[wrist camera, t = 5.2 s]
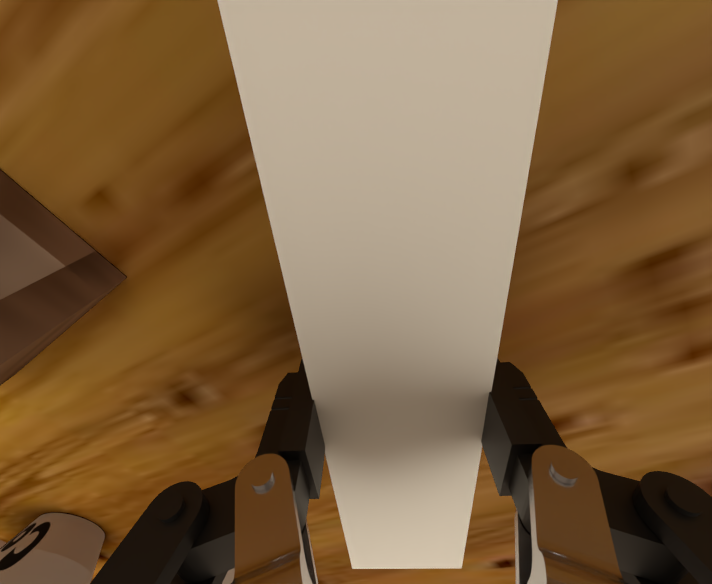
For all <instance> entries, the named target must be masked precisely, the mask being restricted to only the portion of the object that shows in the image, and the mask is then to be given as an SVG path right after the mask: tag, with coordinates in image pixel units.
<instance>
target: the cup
mask: <svg viewBox="0 0 712 584" xmlns="http://www.w3.org/2000/svg"><path fill="white" fill-rule="evenodd" d="M104 539H105V534H104V532H103V530H102V529H101V528H100V527H99V526H97V525H96V524H94V523H92V522H90V521H88V520H86V519H84V518H81V517H78V516H74V515H70V514H64V513H47V514H43V515H41V516H39V517H38V518H37V519H36V520H34V521H33V522H32V523H31V524H30V525H28V526H27V527H26V528H25V529H23V530H22V531H21V532H20V533H19V534H17V535H16V536H15V537H14V538H13V539H11V540H10V541H9V542H8V543H6V544H5V545H4V546H3V547H2V548H0V584H90V582H91V580H92V576H93V573H94V570H95V567H96V564H97V561H98V557H99V554H100V551H101V548H102V545H103V542H104Z"/></svg>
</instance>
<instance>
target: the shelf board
mask: <svg viewBox="0 0 712 584" xmlns="http://www.w3.org/2000/svg"><path fill="white" fill-rule="evenodd" d="M217 1H218V5H219V9H220V13H221V17H222V22H223V26H224V30H225V34H226V38H227V43H228V47H229V51H230V55H231V60H232V64H233V68H234V72H235V76H236V81H237V85H238V89H239V93H240V97H241V102H242V106H243V110H244V114H245V118H246V123H247V127H248V131H249V135H250V139H251V144H252V148H253V152H254V156H255V161H256V165H257V169H258V173H259V177H260V182H261V186H262V190H263V194H264V198H265V203H266V207H267V211H268V215H269V219H270V224H271V228H272V232H273V236H274V240H275V245H276V249H277V253H278V257H279V262H280V266H281V270H282V274H283V278H284V283H285V287H286V291H287V295H288V299H289V304H290V308H291V312H292V316H293V320H294V325H295V329H296V333H297V337H298V341H299V346H300V350H301V354H302V358H303V363H304V367H305V371H306V375H307V379H308V384H309V388H310V392H311V396H312V400H314V401H315V405H316V410H317V414H318V418H319V422H320V426H321V431H322V435H323V439H324V443H325V455H326V459H327V464H328V468H329V472H330V476H331V480H332V485H333V489H334V493H335V497H336V501H337V506H338V510H339V514H340V518H341V522H342V527H343V531H344V535H345V539H346V543H347V548H348V552H349V556H350V560H351V565H352V569H408V568H462V562H463V556H464V550H465V545H466V539H467V533H468V527H469V521H470V515H471V509H472V503H473V497H474V492H475V486H476V480H477V474H478V468H479V462H480V456H481V450H482V443H481V440H482V434H483V427H484V421H485V415H486V409H487V403H488V397H489V392H491V391H492V385H493V380H494V374H495V368H496V362H497V356H498V350H499V344H500V338H501V332H502V326H503V321H504V315H505V309H506V303H507V297H508V291H509V285H510V279H511V273H512V267H513V262H514V256H515V250H516V244H517V238H518V232H519V226H520V220H521V214H522V209H523V203H524V197H525V191H526V185H527V179H528V173H529V167H530V161H531V155H532V150H533V144H534V138H535V132H536V126H537V120H538V114H539V108H540V102H541V97H542V91H543V85H544V79H545V73H546V67H547V61H548V55H549V49H550V43H551V38H552V32H553V26H554V20H555V14H556V8H557V2H558V0H217Z"/></svg>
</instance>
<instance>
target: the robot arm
mask: <svg viewBox="0 0 712 584" xmlns="http://www.w3.org/2000/svg"><path fill="white" fill-rule="evenodd" d="M481 443H482V446H483V449H484V451H485V454H486V457H487V460H488V463H489V466H490V469H491V472H492V475H493V478H494V481H495V484H496V487H497V490H498V493H499V496H512V498H513V500H514V503H515V506H516V508H517V509H516V513H515V558H516V584H712V497H711V496H710V495H709V494H707V493H706V492H705V491H704V490H702V489H701V488H700V487H698V486H697V485H695V484H694V483H692V482H690V481H688V480H686V479H684V478H682V477H680V476H677V475H675V474H672V473H668V472H662V471H654V472H649V473H647V474H645V475H644V476H643V477H642V479H641V481H637V480H633V479H629V478H625V477H621V476H617V475H614V474H610V473H606V472H603V471H600V470H597V469H595V468H593V467H591V465H590V464H589V463H588V462H587V461H586V460H585V459H584V458H582V457H581V456H580V455H578V454H577V453H575V452H574V451H572V450H570V449H568V448H567V447H566V445H565V444H564V443H563V441H562V439H561V437H560V436H559V434H558V432H557V431H556V429H555V427H554V425H553V424H552V422H551V420H550V419H549V417H548V415H547V413H546V412H545V410H544V408H543V407H542V405H541V403H540V401H539V400H537V396H536V395H535V393H534V391H533V389H531V386H530V384H529V383H528V381H527V379H526V377H525V376H524V374H523V373H522V372H521V371H520V370H519V369H517V368H516V367H515V366H514V365H513V364H511V363H510V362H503V363H500V361H499V359H498V358H497V362H496V368H495V374H494V380H493V385H492V391H491V392H489V397H488V403H487V409H486V415H485V421H484V427H483V434H482V440H481ZM324 454H325V443H324V439H323V435H322V431H321V426H320V422H319V418H318V414H317V410H316V405H315V401H314V400H312V396H311V392H310V388H309V384H308V379H307V375H306V371H305V367H304V363H303V358H302V360H301V364H300V368H299V371H298V372H297V373H288V374H287V375H286V376H285V378H284V379H283V380H282V381H281V382H280V384H279V386H278V389H277V392H276V395H275V400H274V402H273V405H272V410H271V411H270V414H269V417H268V420H267V424H266V427H265V430H264V433H263V436H262V439H261V443H260V446H259V449H258V452H257V454H256V457H255V458H254V459H252V460H251V461H250V462H248V463H247V464H246V465H245V466H244V468H243V469H242V470H241V472H240V473H239V475H238V476H237V477H235V478H233V479H231V480H229V481H226V482H224V483H221V484H218V485H215V486H212V487H210V488H207V489H204V490H201V488H200V487H199V486H198V485H197V484H196V483H193V482H189V481H186V482H180V483H177V484H174V485H172V486H170V487H168V488H167V489H165V490H164V491H162V492H161V493H160V494H159V495H158V496H157V497H156V498H155V499H154V500H153V501H152V502H151V504H150V505H149V506H148V508H147V509H146V510H145V512H144V513H143V514H142V516H141V517H140V518H139V520H138V521H137V522H136V524H135V525H134V526H133V528H132V529H131V530H130V531H129V533H128V534H127V535H126V537H125V538H124V539H123V541H122V542H121V543H120V545H119V546H118V547H117V549H116V550H115V551H114V553H113V554H112V555H111V557H110V558H109V559H108V561H107V562H106V563H105V565H104V566H103V567H102V569H101V570H100V571H99V573H98V574H97V575H96V577H95V578H94V579H93V581H92V582H91V583H90V584H222V582H223V580H224V578H225V576H226V574H227V572H228V570H231V569H233V568H235V573H234V579H233V582H232V583H231V584H318V580H317V574H316V569H315V563H314V558H313V552H312V546H311V541H310V535H309V530H308V524H307V519H306V516H307V510H308V503H309V499H319V495H320V487H321V478H322V470H323V462H324Z"/></svg>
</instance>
